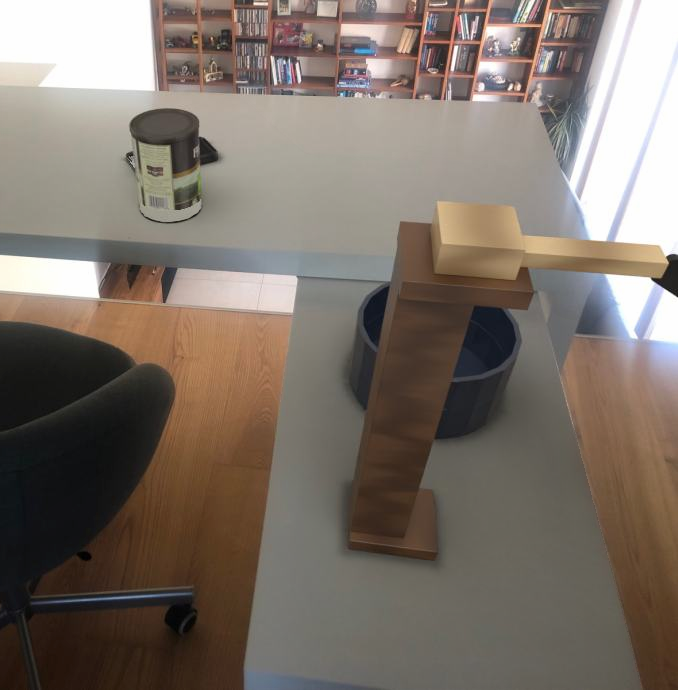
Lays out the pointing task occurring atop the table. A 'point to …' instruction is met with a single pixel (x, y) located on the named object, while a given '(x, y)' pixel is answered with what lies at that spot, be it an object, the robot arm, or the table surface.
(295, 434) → the table surface
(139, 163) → the coffee can
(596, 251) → the t-shaped wooden block
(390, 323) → the stand
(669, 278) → the robot arm
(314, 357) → the table surface
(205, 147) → the phone
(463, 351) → the pot
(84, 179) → the table surface
